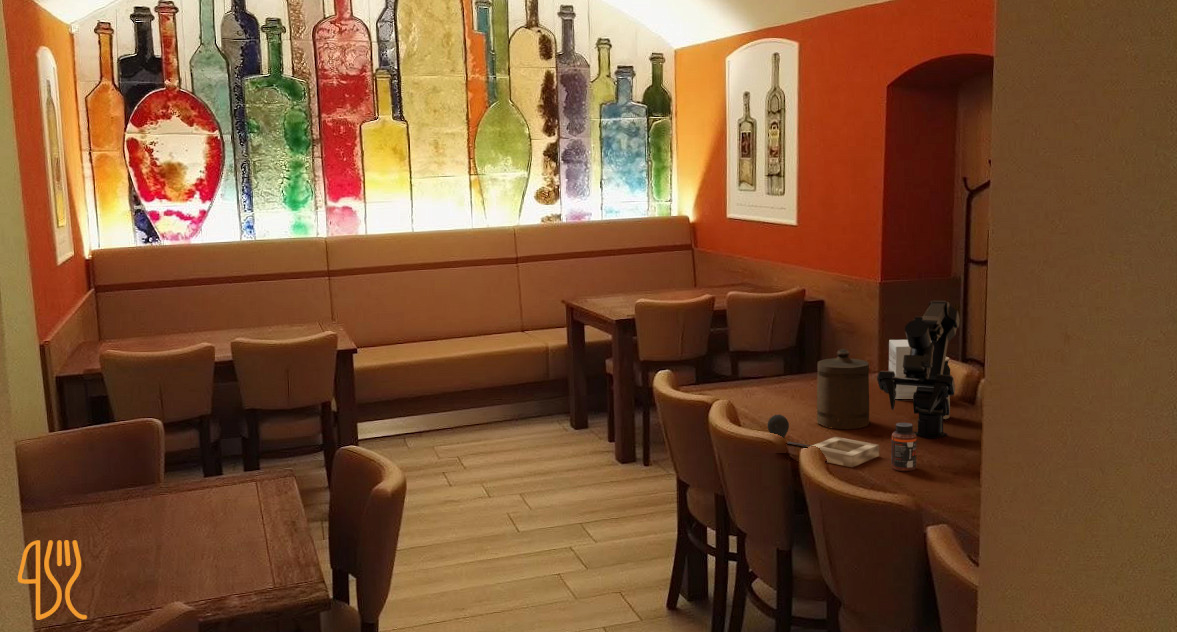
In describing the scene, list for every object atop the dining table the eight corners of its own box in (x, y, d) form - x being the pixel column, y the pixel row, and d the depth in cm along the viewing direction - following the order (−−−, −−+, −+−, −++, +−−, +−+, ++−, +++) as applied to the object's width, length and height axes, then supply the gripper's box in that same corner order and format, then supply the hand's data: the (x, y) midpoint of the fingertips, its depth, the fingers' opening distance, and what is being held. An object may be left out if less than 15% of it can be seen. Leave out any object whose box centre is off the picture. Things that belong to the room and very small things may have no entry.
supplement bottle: (917, 472, 251) (918, 427, 250) (892, 471, 253) (892, 427, 251) (914, 465, 257) (915, 421, 255) (890, 464, 258) (890, 421, 257)
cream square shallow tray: (835, 447, 275) (835, 436, 275) (878, 456, 266) (879, 444, 266) (807, 458, 266) (807, 447, 266) (851, 467, 257) (851, 455, 257)
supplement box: (929, 391, 337) (929, 338, 335) (938, 400, 324) (939, 345, 322) (887, 391, 339) (888, 339, 336) (895, 400, 326) (895, 346, 323)
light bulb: (765, 449, 276) (765, 413, 275) (785, 447, 277) (785, 411, 275) (770, 454, 271) (770, 418, 269) (791, 453, 271) (791, 416, 270)
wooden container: (851, 415, 310) (851, 343, 306) (879, 426, 296) (879, 351, 292) (807, 420, 305) (807, 347, 302) (834, 432, 291) (834, 356, 288)
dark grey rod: (824, 450, 273) (824, 447, 273) (823, 451, 272) (823, 448, 272) (783, 443, 281) (783, 440, 281) (782, 444, 280) (782, 441, 280)
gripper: (878, 340, 266) (868, 390, 258) (954, 344, 257) (945, 396, 249) (885, 364, 274) (875, 413, 266) (958, 369, 265) (950, 420, 257)
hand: (910, 410), depth 259 cm, fingers open, 9 cm apart
